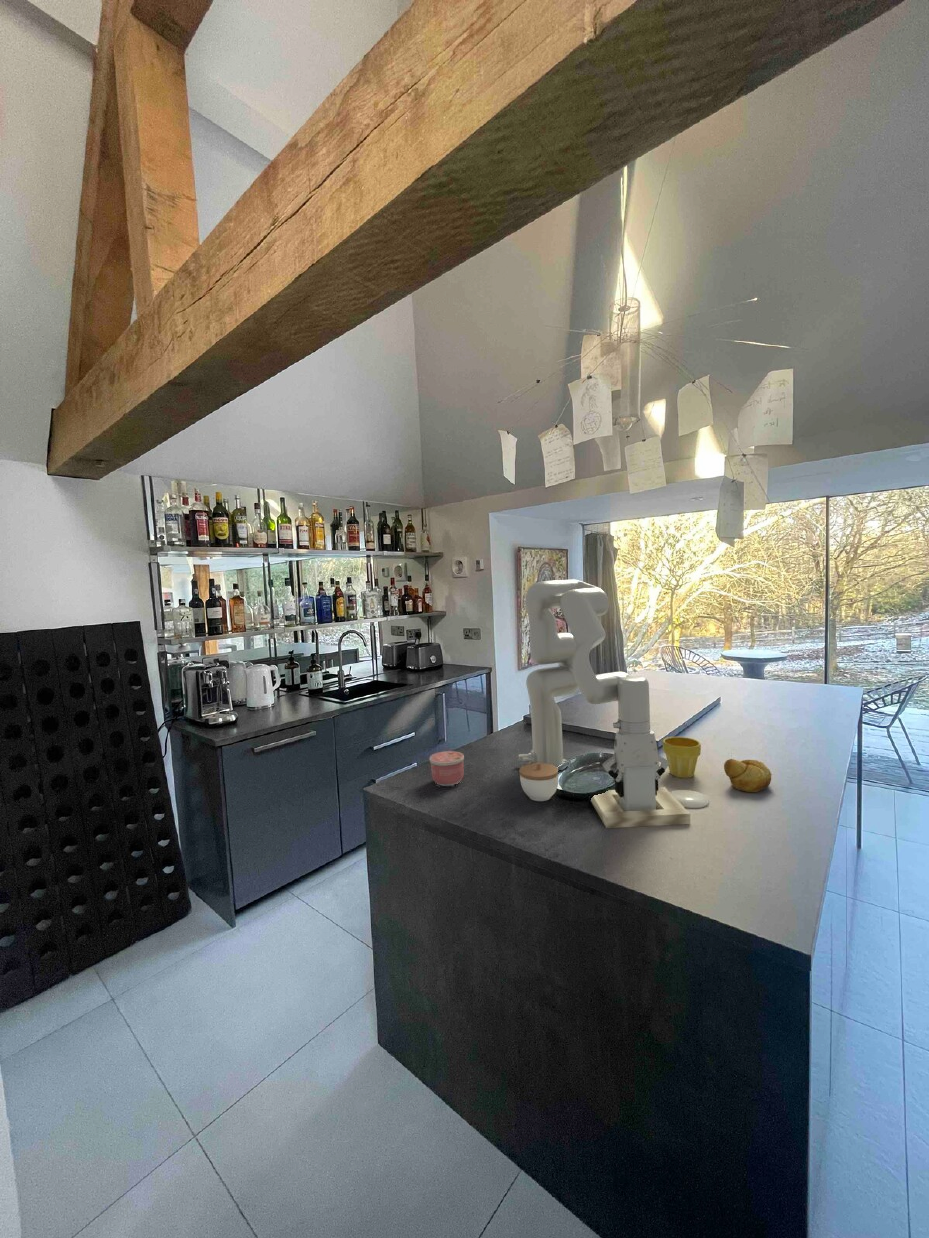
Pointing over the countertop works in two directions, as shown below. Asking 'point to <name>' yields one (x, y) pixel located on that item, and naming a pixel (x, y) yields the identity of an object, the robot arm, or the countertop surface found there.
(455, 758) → the container
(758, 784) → the bread roll
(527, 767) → the lidded jar
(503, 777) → the countertop surface
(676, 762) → the plant pot
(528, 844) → the countertop surface
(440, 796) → the countertop surface
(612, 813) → the board
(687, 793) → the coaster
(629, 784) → the supplement box
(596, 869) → the countertop surface
